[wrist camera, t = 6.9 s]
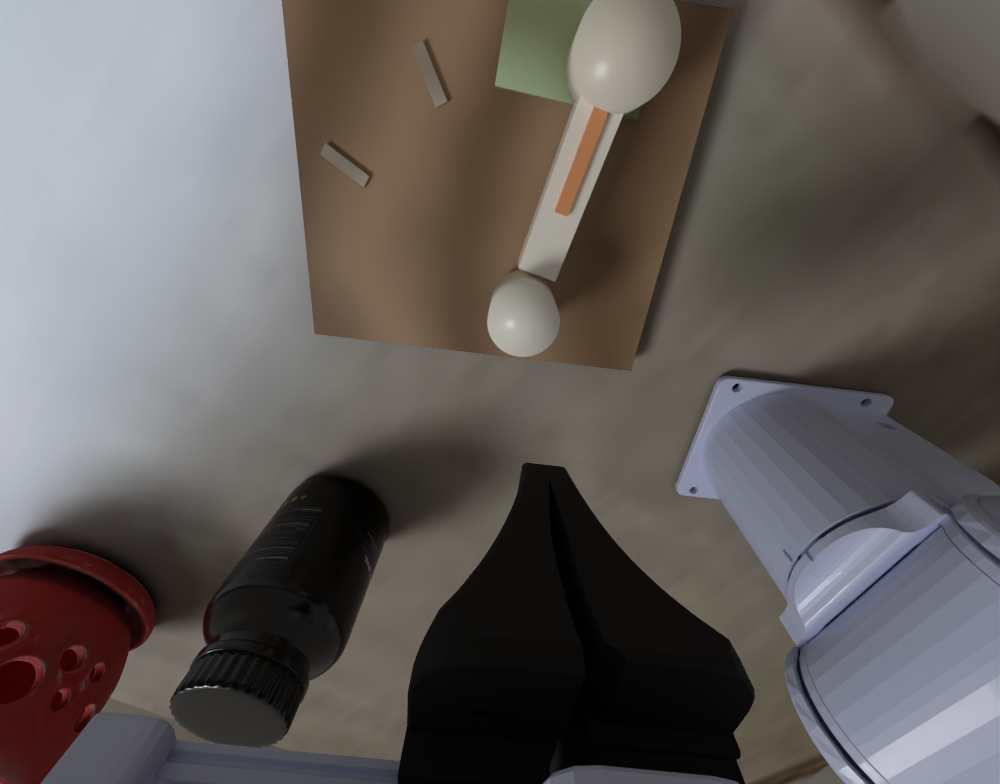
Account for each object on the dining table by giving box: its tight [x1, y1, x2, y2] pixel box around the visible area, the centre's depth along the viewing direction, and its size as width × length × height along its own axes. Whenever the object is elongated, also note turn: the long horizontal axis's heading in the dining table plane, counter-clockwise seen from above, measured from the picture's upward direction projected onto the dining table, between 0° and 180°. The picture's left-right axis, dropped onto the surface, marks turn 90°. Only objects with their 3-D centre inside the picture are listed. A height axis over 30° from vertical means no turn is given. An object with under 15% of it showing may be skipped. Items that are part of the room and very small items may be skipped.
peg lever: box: [487, 0, 681, 357], centre depth 15 cm, size 12×3×3 cm, turn 161°
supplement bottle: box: [169, 476, 389, 748], centre depth 22 cm, size 7×7×12 cm
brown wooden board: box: [282, 0, 734, 371], centre depth 18 cm, size 16×14×1 cm
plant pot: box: [0, 545, 155, 784], centre depth 26 cm, size 13×13×12 cm
